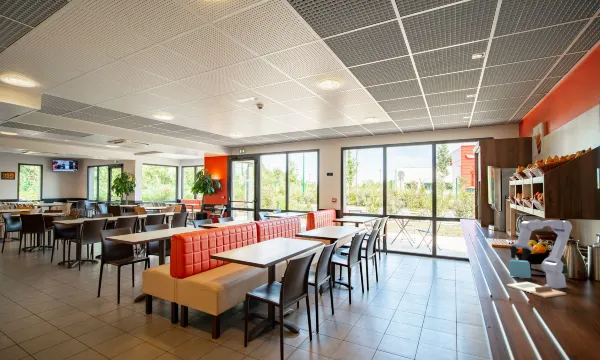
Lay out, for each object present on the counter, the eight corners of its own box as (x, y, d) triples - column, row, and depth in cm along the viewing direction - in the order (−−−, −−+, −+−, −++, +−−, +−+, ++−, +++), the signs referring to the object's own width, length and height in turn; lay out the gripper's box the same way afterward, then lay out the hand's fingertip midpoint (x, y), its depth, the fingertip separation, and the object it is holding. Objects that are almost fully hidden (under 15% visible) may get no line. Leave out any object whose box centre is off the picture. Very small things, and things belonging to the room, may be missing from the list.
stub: (552, 290, 186) (552, 285, 187) (566, 294, 178) (565, 288, 179) (532, 293, 184) (531, 287, 184) (544, 297, 176) (543, 291, 176)
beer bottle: (566, 278, 209) (561, 243, 211) (572, 281, 202) (567, 245, 203) (552, 278, 211) (548, 243, 213) (558, 281, 204) (553, 245, 206)
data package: (531, 277, 216) (529, 260, 217) (530, 279, 213) (528, 262, 214) (511, 275, 224) (509, 259, 225) (510, 277, 221) (508, 260, 222)
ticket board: (527, 283, 204) (526, 281, 205) (553, 290, 187) (552, 288, 187) (506, 285, 202) (506, 284, 202) (530, 293, 184) (530, 291, 184)
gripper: (509, 235, 200) (503, 254, 198) (528, 238, 186) (522, 258, 184) (517, 239, 201) (512, 258, 199) (537, 242, 186) (532, 262, 185)
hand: (517, 259), depth 191 cm, fingers open, 7 cm apart
